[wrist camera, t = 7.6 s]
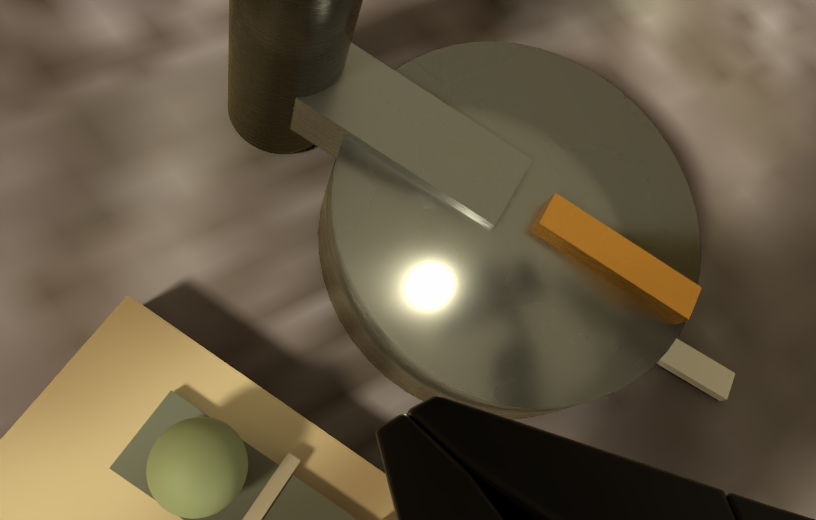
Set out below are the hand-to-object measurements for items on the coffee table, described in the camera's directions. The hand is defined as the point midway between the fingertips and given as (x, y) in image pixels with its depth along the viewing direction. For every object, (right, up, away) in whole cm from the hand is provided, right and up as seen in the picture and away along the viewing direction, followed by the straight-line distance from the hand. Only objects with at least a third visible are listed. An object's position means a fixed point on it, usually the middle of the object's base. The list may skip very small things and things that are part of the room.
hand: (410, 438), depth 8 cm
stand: (-4, -6, +6) cm, 9 cm away
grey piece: (+1, +3, +10) cm, 11 cm away
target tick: (+7, -1, +11) cm, 13 cm away
